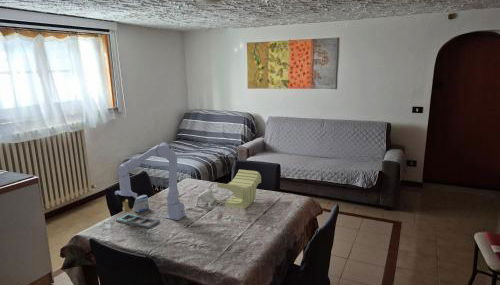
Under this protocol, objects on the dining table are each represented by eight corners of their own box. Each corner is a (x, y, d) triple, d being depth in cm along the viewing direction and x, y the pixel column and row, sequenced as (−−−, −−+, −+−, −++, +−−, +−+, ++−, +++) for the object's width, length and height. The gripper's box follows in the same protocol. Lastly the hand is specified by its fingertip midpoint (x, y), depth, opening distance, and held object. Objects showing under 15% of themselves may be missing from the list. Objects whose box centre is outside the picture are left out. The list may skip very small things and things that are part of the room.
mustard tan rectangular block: (132, 210, 194) (131, 200, 192) (125, 212, 191) (124, 202, 190) (130, 208, 197) (129, 198, 196) (122, 210, 194) (121, 200, 193)
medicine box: (138, 213, 205) (137, 199, 203) (133, 211, 207) (132, 198, 205) (149, 208, 211) (148, 195, 209) (144, 207, 213) (143, 194, 212)
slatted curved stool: (242, 214, 199) (241, 186, 195) (218, 210, 205) (217, 182, 202) (261, 197, 226) (260, 171, 222) (239, 194, 232) (239, 169, 228)
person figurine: (208, 193, 205) (216, 179, 221) (189, 196, 208) (198, 182, 225) (214, 211, 209) (222, 196, 225) (196, 214, 212) (205, 198, 229)
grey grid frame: (159, 222, 192) (159, 219, 191) (149, 228, 184) (148, 226, 183) (127, 215, 201) (127, 213, 201) (116, 221, 193) (116, 219, 193)
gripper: (140, 184, 192) (142, 206, 195) (120, 181, 197) (122, 203, 200) (131, 188, 185) (133, 211, 188) (111, 185, 191) (113, 208, 194)
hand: (127, 207), depth 194 cm, fingers closed on mustard tan rectangular block, 6 cm apart
